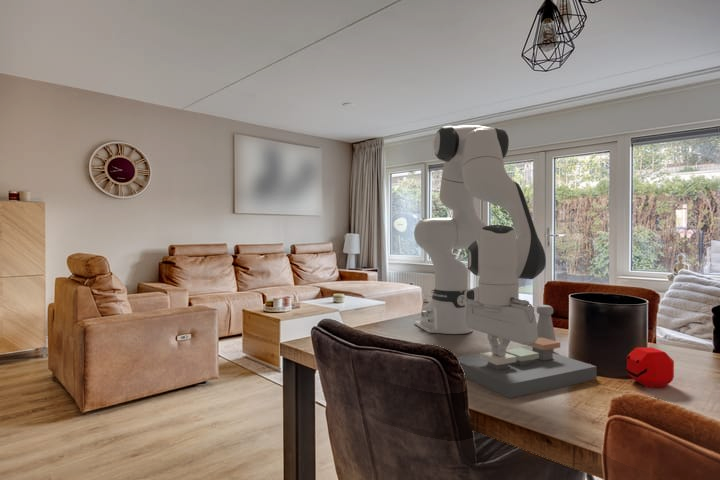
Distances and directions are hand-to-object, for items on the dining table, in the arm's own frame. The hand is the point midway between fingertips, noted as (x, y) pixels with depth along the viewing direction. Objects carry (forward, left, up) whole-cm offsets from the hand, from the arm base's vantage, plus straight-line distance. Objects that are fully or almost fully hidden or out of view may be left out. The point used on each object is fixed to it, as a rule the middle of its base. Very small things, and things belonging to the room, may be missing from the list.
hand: (498, 355), depth 99 cm
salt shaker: (-12, +28, -6) cm, 31 cm away
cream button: (0, 0, -4) cm, 4 cm away
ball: (+17, +28, -6) cm, 33 cm away
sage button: (0, +7, -4) cm, 8 cm away
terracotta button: (0, +14, -3) cm, 14 cm away
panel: (0, +7, -6) cm, 9 cm away
